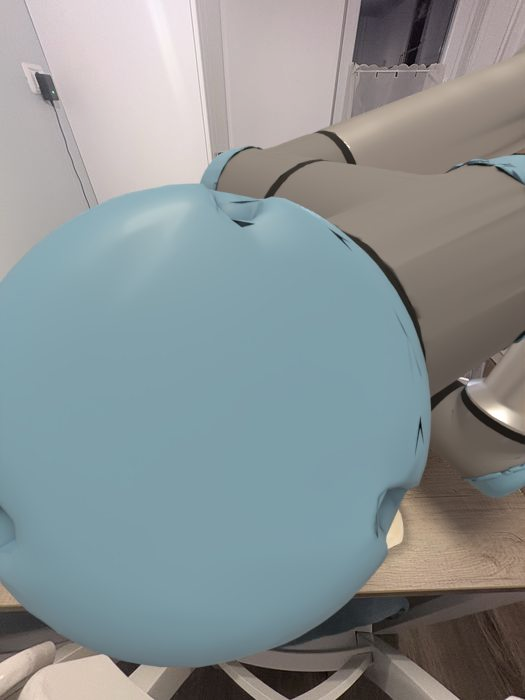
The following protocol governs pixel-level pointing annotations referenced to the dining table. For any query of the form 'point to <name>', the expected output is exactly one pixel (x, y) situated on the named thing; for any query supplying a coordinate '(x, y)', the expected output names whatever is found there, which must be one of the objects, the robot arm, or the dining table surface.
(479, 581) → the dining table surface
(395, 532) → the cracked egg
